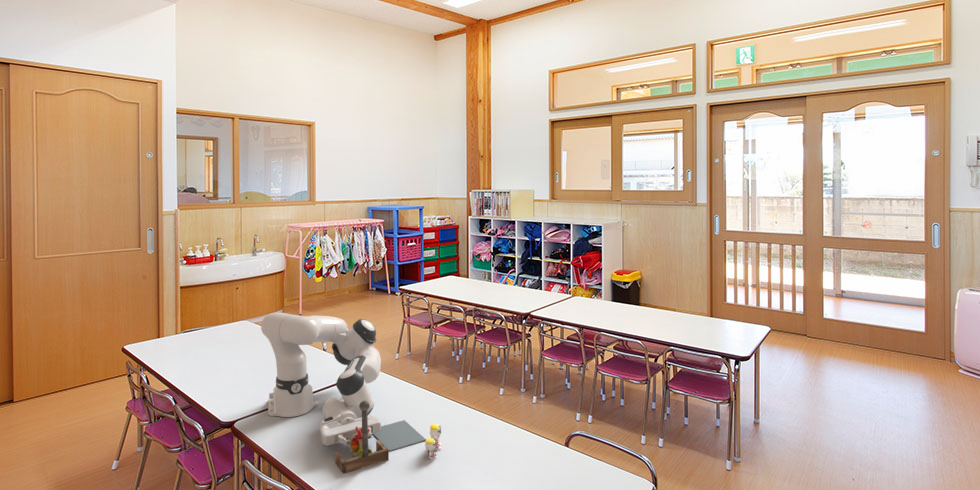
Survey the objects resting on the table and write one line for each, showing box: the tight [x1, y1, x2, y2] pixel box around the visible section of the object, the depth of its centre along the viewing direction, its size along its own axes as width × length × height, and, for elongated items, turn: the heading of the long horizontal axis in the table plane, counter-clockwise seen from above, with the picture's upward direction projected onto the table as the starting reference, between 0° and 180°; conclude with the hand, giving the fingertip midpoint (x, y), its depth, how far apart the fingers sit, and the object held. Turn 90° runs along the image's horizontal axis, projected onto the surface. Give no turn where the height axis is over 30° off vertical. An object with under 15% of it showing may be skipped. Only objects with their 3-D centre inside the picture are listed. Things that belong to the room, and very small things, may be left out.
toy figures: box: [424, 423, 442, 460], centre depth 182 cm, size 12×4×8 cm, turn 172°
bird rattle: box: [349, 426, 373, 457], centre depth 178 cm, size 6×11×9 cm
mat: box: [372, 419, 427, 453], centre depth 193 cm, size 18×14×1 cm
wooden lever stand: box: [334, 401, 389, 475], centre depth 174 cm, size 9×15×22 cm, turn 124°
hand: (358, 439), depth 177 cm, fingers open, 6 cm apart
